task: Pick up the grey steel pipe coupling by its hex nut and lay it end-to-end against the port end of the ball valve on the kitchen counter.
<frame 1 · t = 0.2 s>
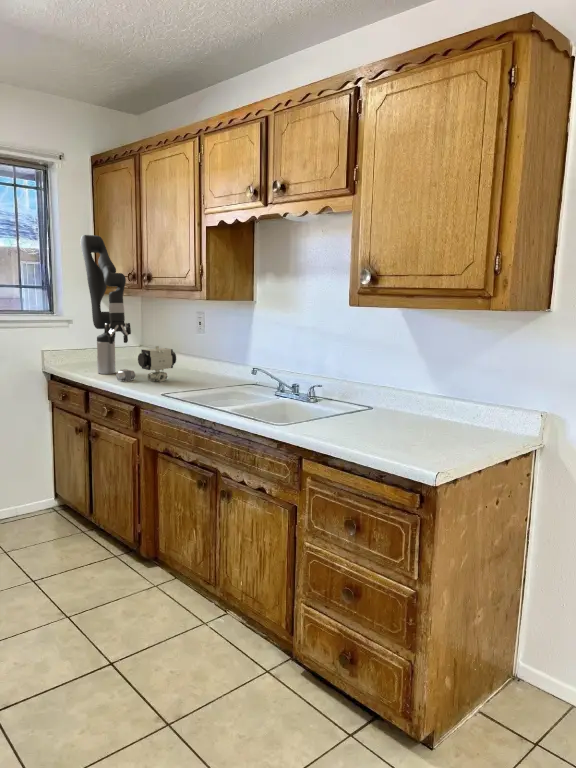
hand: (118, 343, 298), 17 cm above the worktop, tool pointing down, fingers open, 8 cm apart
coupling: (125, 380, 289), on the worktop
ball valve: (158, 381, 289), on the worktop
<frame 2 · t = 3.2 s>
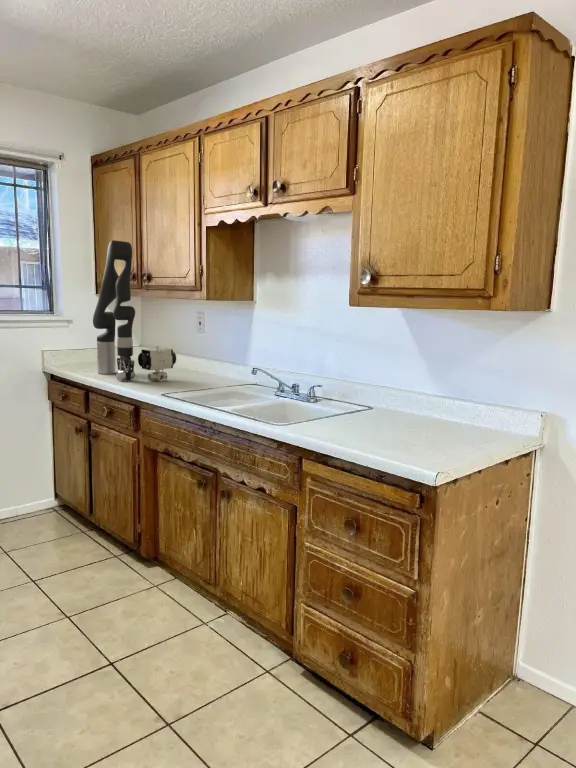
hand: (125, 379, 288), 1 cm above the worktop, tool pointing down, fingers closed on coupling, 5 cm apart
coupling: (125, 380, 289), on the worktop, touching gripper
everything else where it was.
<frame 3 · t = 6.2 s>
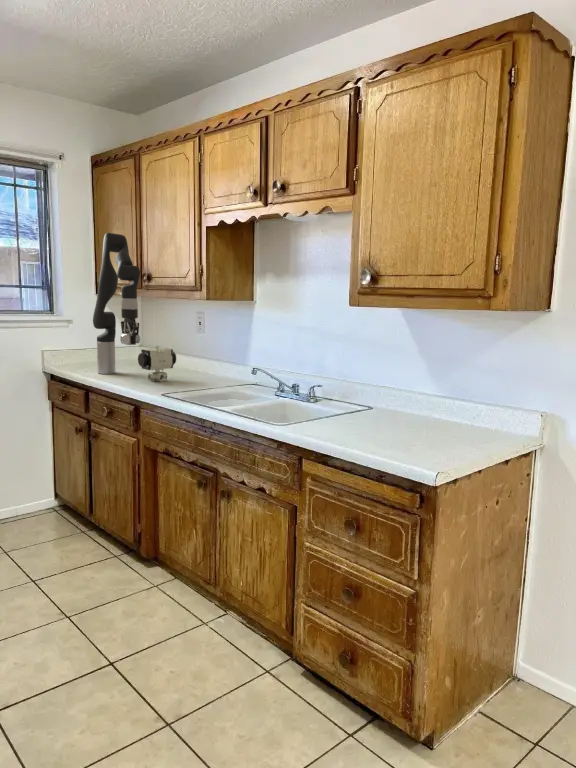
hand: (130, 343, 275), 20 cm above the worktop, tool pointing down, fingers closed on coupling, 5 cm apart
coupling: (130, 344, 276), point 19 cm above the worktop, touching gripper
everything else where it was.
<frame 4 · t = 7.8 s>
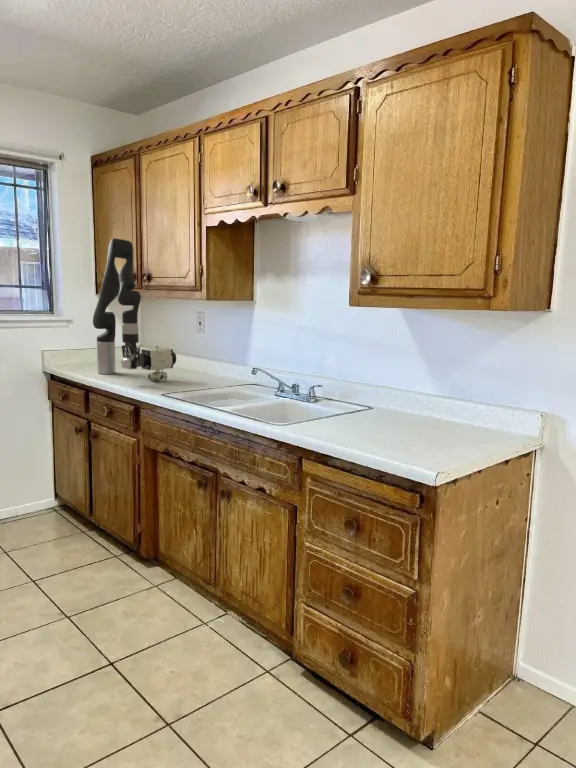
hand: (131, 367, 277), 8 cm above the worktop, tool pointing down, fingers closed on coupling, 5 cm apart
coupling: (131, 368, 277), point 8 cm above the worktop, touching gripper
everything else where it was.
when the fingers open (2 cm above the worktop, at t = 9.4 s): coupling drops 1 cm, on the worktop.
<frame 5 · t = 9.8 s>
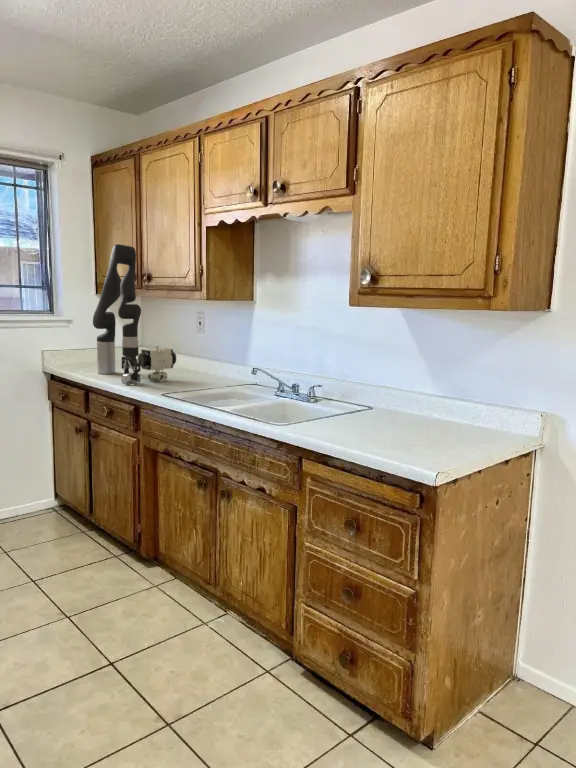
hand: (131, 379, 278), 2 cm above the worktop, tool pointing down, fingers open, 8 cm apart
coupling: (131, 384, 279), on the worktop
everything else where it was.
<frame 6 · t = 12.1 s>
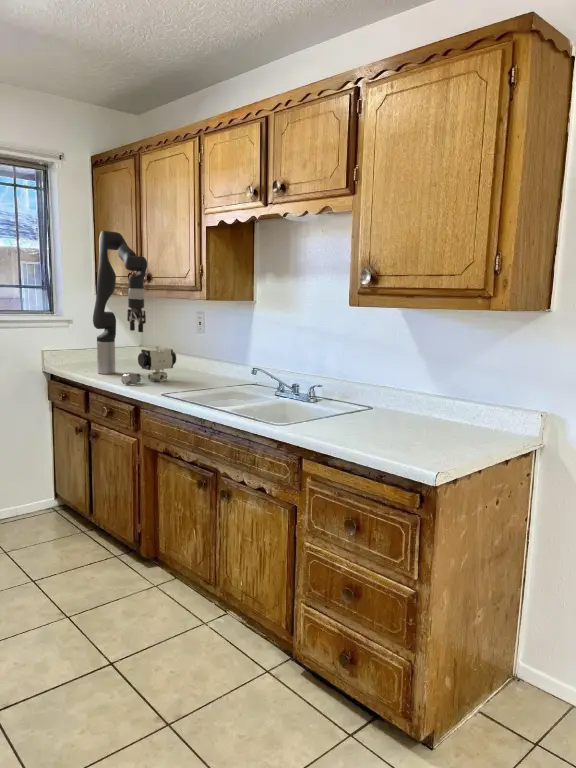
hand: (136, 331, 281), 25 cm above the worktop, tool pointing down, fingers open, 8 cm apart
nothing on the worktop moved.
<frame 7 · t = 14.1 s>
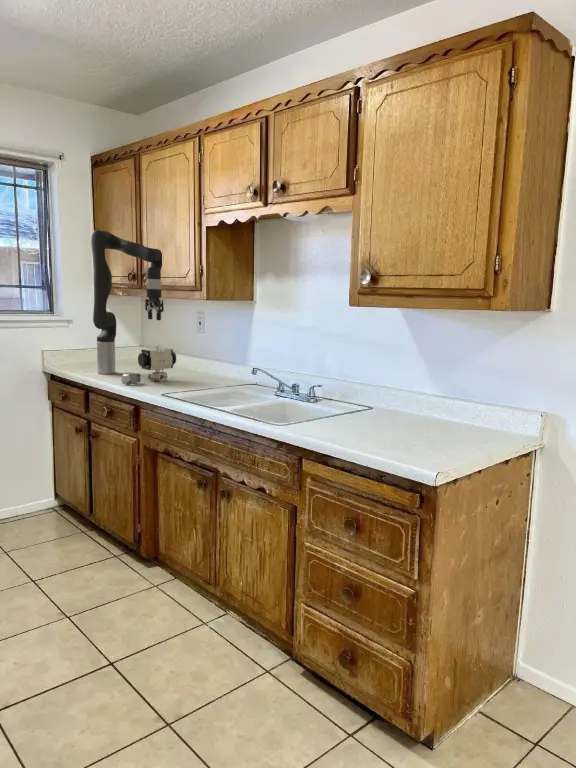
hand: (154, 319, 297), 30 cm above the worktop, tool pointing down, fingers open, 8 cm apart
nothing on the worktop moved.
at the end: coupling inside the target area on the worktop beside the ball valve (0.1 cm from its centre), on the worktop; the gripper is holding nothing; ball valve moved 0.2 cm from its start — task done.
